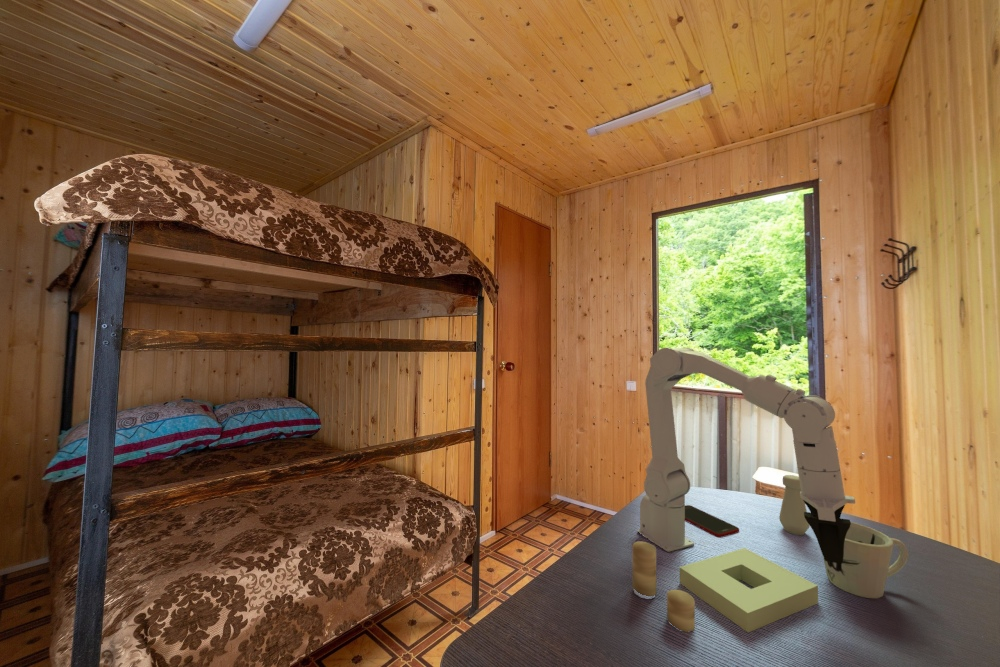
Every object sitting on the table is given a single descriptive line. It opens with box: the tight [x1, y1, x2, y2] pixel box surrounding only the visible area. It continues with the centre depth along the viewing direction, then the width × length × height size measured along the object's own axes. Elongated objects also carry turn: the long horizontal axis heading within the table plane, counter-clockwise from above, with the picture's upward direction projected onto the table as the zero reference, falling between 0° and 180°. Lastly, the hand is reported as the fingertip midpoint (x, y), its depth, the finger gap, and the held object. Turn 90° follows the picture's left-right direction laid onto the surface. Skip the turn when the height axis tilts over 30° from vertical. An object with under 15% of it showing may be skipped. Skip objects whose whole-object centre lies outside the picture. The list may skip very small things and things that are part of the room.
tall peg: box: [632, 541, 657, 596], centre depth 68 cm, size 4×4×8 cm
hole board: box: [679, 547, 819, 634], centre depth 68 cm, size 13×18×3 cm
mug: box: [823, 521, 909, 599], centre depth 71 cm, size 10×15×10 cm
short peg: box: [666, 589, 696, 633], centre depth 61 cm, size 4×4×4 cm
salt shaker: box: [778, 474, 810, 536], centre depth 91 cm, size 6×6×13 cm
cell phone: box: [685, 504, 740, 538], centre depth 96 cm, size 8×15×1 cm, turn 23°
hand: (831, 552), depth 63 cm, fingers open, 7 cm apart
